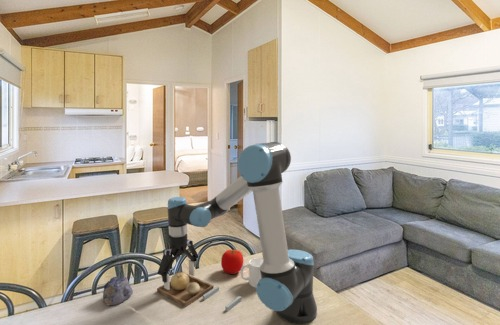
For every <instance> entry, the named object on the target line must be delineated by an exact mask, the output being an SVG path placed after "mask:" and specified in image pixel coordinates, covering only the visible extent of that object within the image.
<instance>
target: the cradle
mask: <svg viewBox="0 0 500 325" xmlns="http://www.w3.org/2000/svg"><path fill="white" fill-rule="evenodd" d="M219 291H220V287H219V286H215V287H214V288H213V289H212V290H210V291H209V292H207V293H206V294H204V295H203V296H202V300H204V301H207V300H208V299H209V298H210V297H212V296H213V295H215V294H216V293H218V292H219ZM240 302H242V296H240V295H238V296H236V298H235V299H233V300H231V301H230V302H229V303H228V304H226V305H225V307H224V308H225V309H224V310H225V311H226V312H229V311H231V310H232V309H233V308H234V307H235V306H237V305H238V304H240Z"/></svg>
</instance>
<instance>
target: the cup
mask: <svg viewBox="0 0 500 325" xmlns="http://www.w3.org/2000/svg"><path fill="white" fill-rule="evenodd" d="M262 263H263V257H254V258H251V259H250V260H248V264H243V266H242V268H241V270H240V278H242V279H243V280H244V281H248V284H249V286H251V287H252V288H256V287H257V284H258V282H259V280H260V279H261V272H260V265H261V264H262ZM245 268H248V277H247V276H245V275H244V269H245Z"/></svg>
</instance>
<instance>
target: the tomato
mask: <svg viewBox="0 0 500 325" xmlns="http://www.w3.org/2000/svg"><path fill="white" fill-rule="evenodd" d="M220 264H221V268H222V269H223V272H224V273H227V274H231V275H234V274H237V273H239V272H241V268H242V266H243V265H244V256H243V254H242V252H241V251H240V250H238V249H228V250H226V251H224V252H223V253H222V256H221V263H220Z"/></svg>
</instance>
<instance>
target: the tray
mask: <svg viewBox="0 0 500 325" xmlns="http://www.w3.org/2000/svg"><path fill="white" fill-rule="evenodd" d="M186 274H187V275H188V277H189V284H190V283H192V282H196V283H198V284H199V286H200V290H199V292H198V294H196V295H190V294H189V293H188V290H187V289H188V286H189V284H188V286H187V287H186V288H184V289H182V290H175V289H173V288H172V286H171V283H170V289H169V290H167V289H165V288H164V284H163V285H161V286H159V287H157V288H156V292H157V293H159V294H160V295H162V296H164V297H166V298H168V299H170V300H171V301H173V302H175V303H177V304H179V305H181V306H182V307H184V308H186V307H188V306H190V305H192V304H193V303H195V302H196V301H198V300H199V299H200V298H203V295H204V294H206V293H207V292H209V291H210V290H212V289H213V288H215V287H214V286H215V285H213V284H210V283H208V282H206V281H204V280H202V279H199V278H197V277H195V276H192V275H189V273H186Z"/></svg>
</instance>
